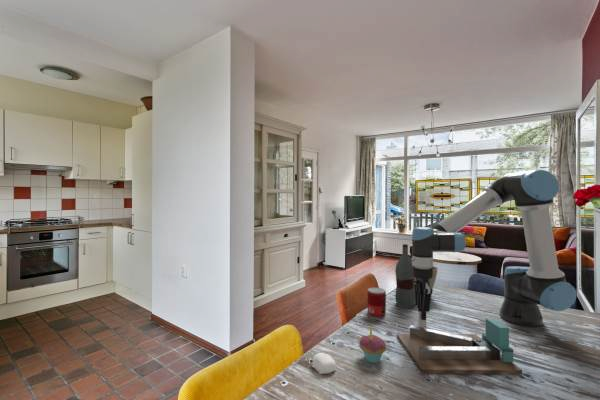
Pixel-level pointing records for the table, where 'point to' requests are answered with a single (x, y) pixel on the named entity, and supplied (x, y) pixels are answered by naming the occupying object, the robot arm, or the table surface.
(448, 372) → the board
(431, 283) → the plant pot
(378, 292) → the canned food
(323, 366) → the garlic
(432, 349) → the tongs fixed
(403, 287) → the bottle
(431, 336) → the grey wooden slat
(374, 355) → the cupcake
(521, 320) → the robot arm
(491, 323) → the teal upright slab
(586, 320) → the table surface
